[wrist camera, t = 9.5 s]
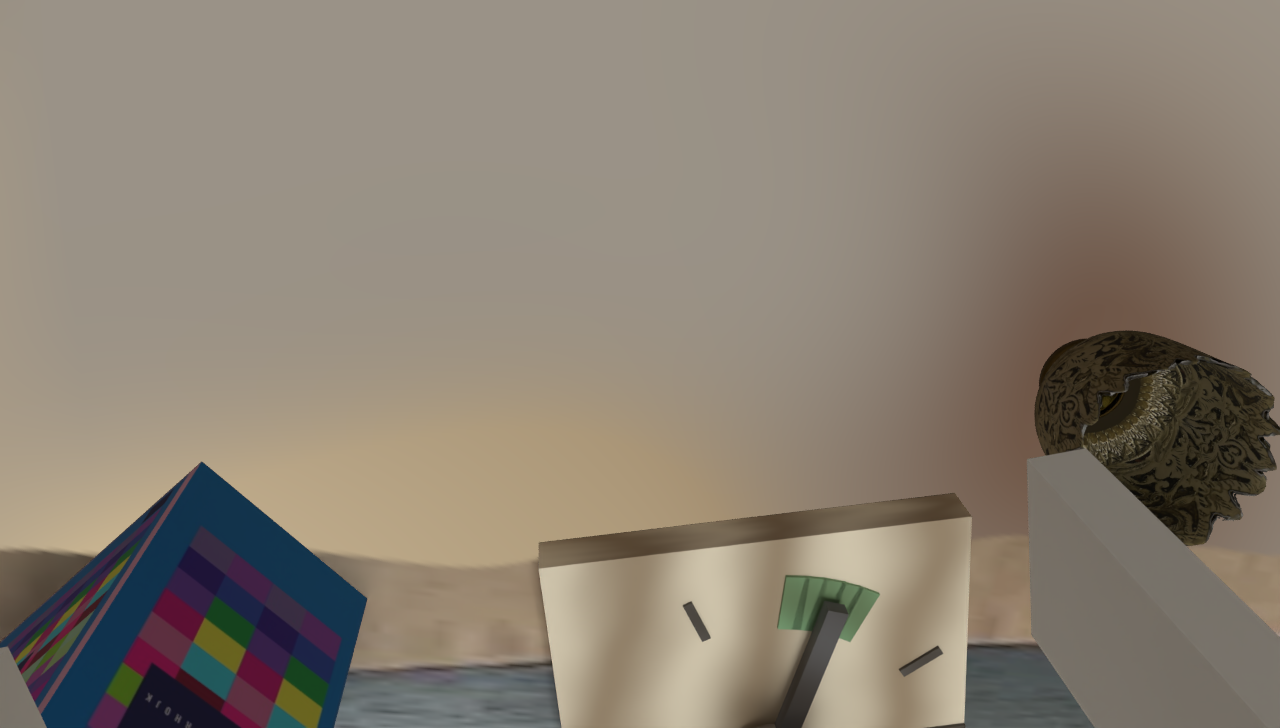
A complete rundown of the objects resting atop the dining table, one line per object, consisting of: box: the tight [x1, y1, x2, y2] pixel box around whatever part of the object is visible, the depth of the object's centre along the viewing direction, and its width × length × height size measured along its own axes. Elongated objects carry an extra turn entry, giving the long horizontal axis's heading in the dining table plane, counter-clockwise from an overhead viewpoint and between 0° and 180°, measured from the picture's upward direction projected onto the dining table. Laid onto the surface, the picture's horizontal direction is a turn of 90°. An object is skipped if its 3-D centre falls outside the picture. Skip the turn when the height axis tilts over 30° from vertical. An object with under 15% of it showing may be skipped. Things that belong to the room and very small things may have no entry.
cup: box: [1035, 331, 1280, 546], centre depth 41 cm, size 8×7×8 cm
